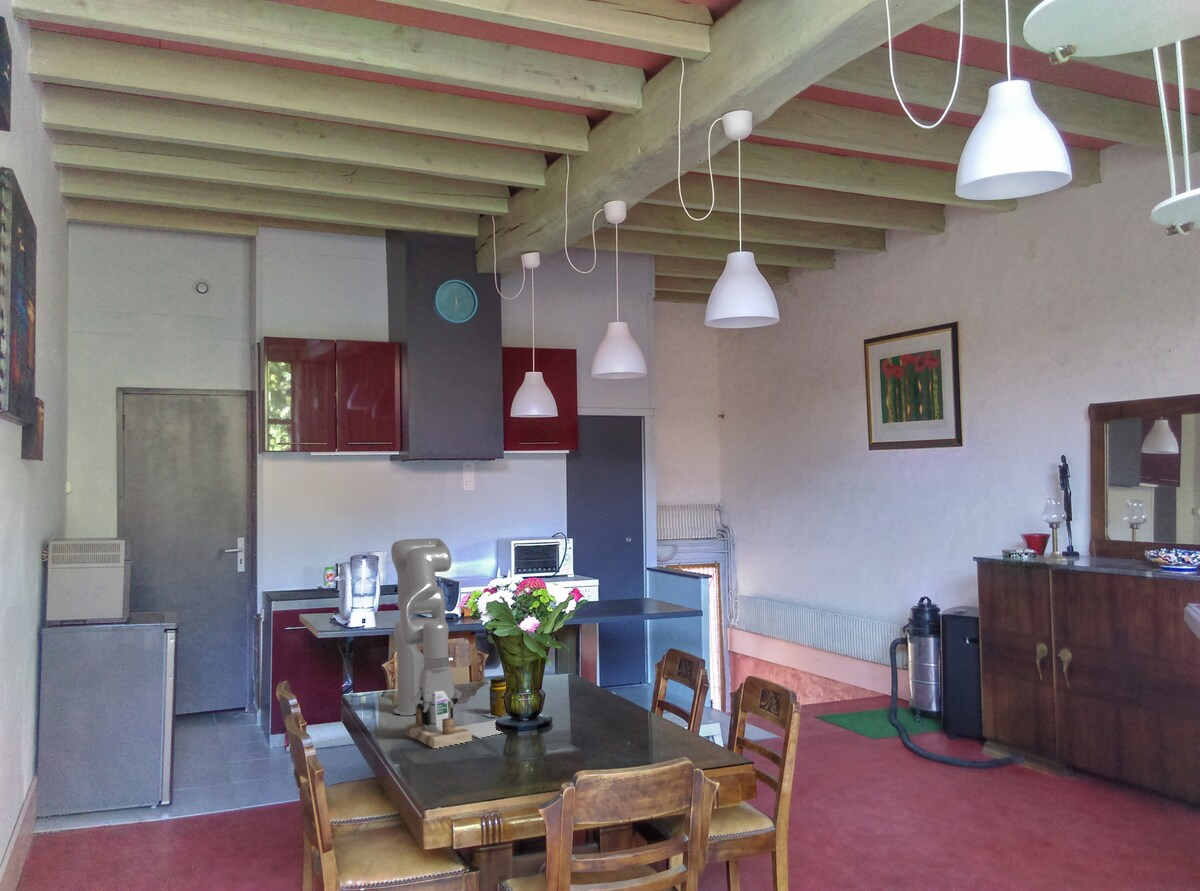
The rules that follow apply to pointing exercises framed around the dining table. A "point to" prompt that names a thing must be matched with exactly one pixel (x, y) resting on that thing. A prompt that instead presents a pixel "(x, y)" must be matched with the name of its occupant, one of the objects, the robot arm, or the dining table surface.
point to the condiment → (497, 696)
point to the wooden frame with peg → (441, 738)
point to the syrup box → (438, 711)
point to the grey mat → (482, 729)
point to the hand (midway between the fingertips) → (437, 722)
